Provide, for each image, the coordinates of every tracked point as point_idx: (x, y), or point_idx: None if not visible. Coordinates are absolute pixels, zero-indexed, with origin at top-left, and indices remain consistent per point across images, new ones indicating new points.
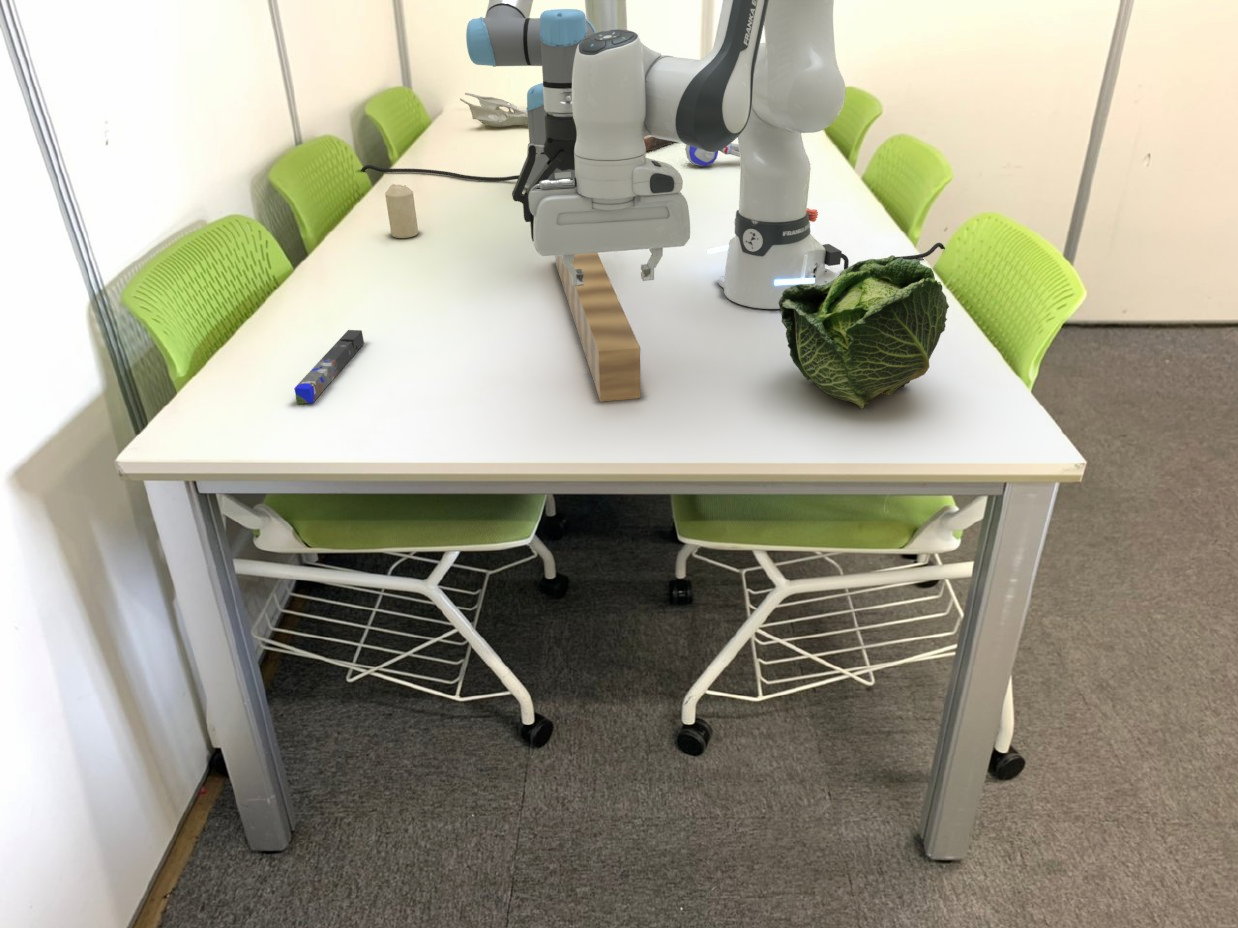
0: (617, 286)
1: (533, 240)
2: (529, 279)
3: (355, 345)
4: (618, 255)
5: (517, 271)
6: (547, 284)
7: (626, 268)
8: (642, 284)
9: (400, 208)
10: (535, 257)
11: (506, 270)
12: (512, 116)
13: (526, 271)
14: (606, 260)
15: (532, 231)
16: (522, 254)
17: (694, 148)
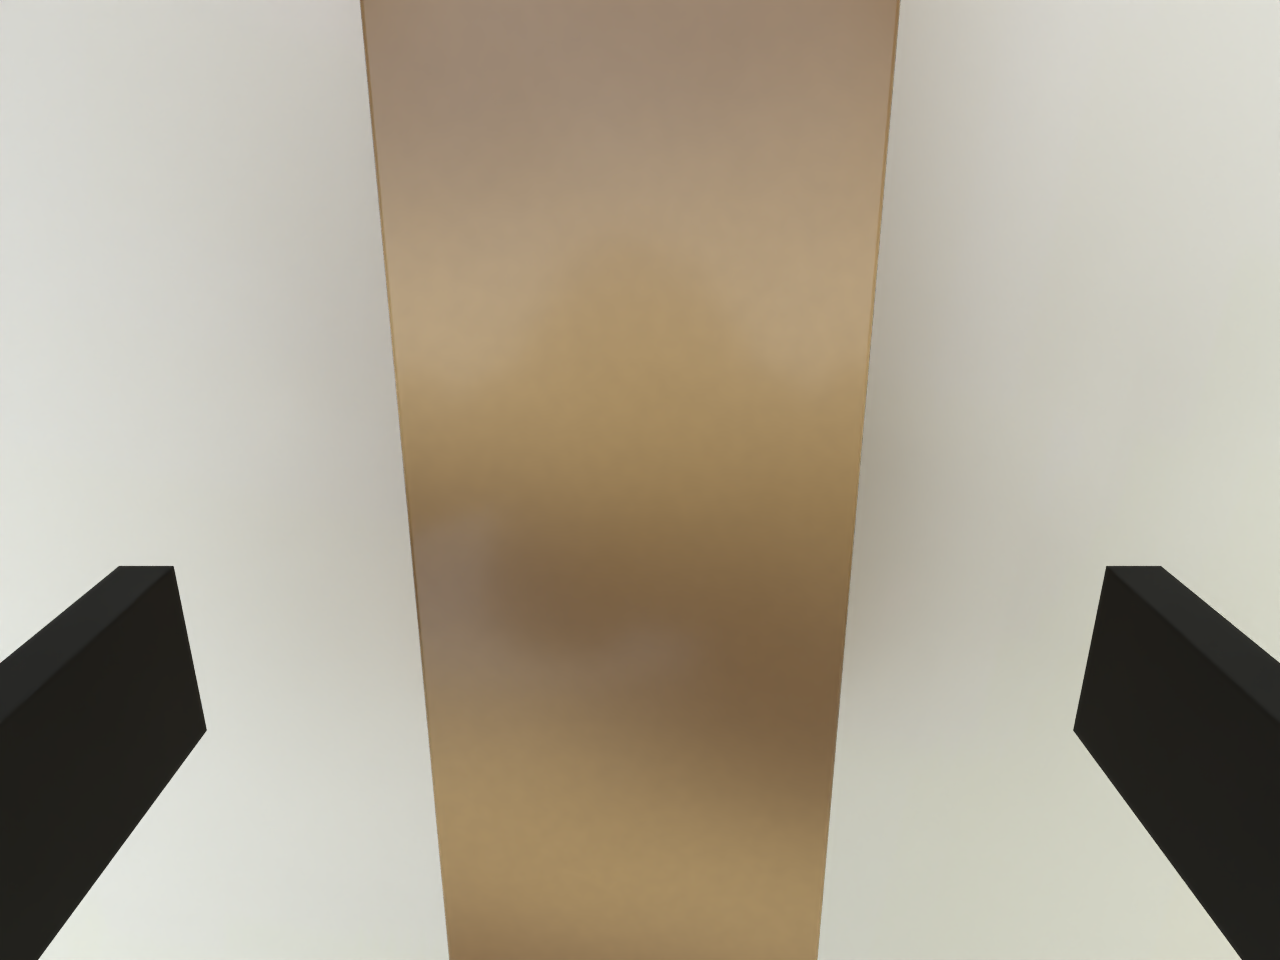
0: (260, 46)
1: (1157, 572)
2: (1036, 404)
3: None
4: (233, 782)
5: (1088, 603)
6: (909, 247)
7: (168, 495)
8: (9, 49)
9: None
10: (882, 854)
11: None
12: None
13: (1017, 590)
14: (335, 699)
15: (1235, 637)
16: (964, 924)
17: None
